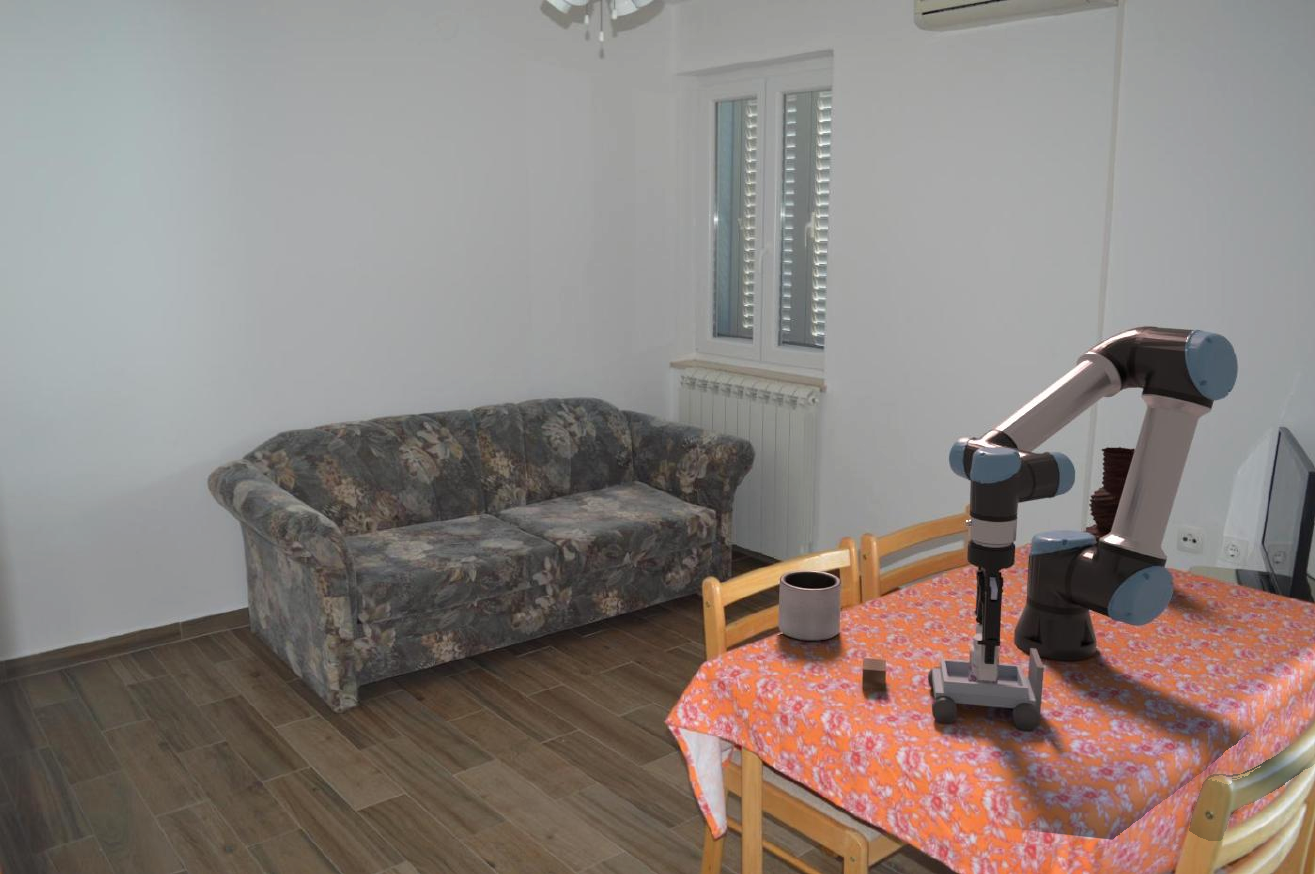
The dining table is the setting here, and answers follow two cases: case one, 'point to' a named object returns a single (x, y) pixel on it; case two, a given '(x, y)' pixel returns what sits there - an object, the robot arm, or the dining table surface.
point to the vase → (1109, 490)
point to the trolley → (989, 690)
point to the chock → (874, 674)
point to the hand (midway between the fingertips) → (984, 669)
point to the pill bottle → (976, 660)
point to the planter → (809, 605)
